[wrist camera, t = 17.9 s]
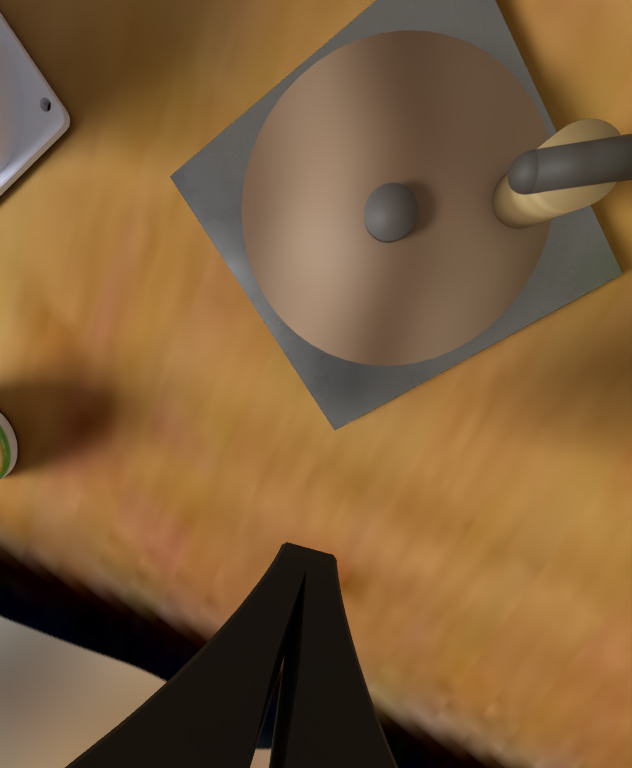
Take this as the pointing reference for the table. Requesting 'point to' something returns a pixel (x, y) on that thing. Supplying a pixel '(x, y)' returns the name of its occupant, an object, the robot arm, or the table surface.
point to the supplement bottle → (7, 447)
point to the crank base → (537, 299)
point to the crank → (411, 195)
